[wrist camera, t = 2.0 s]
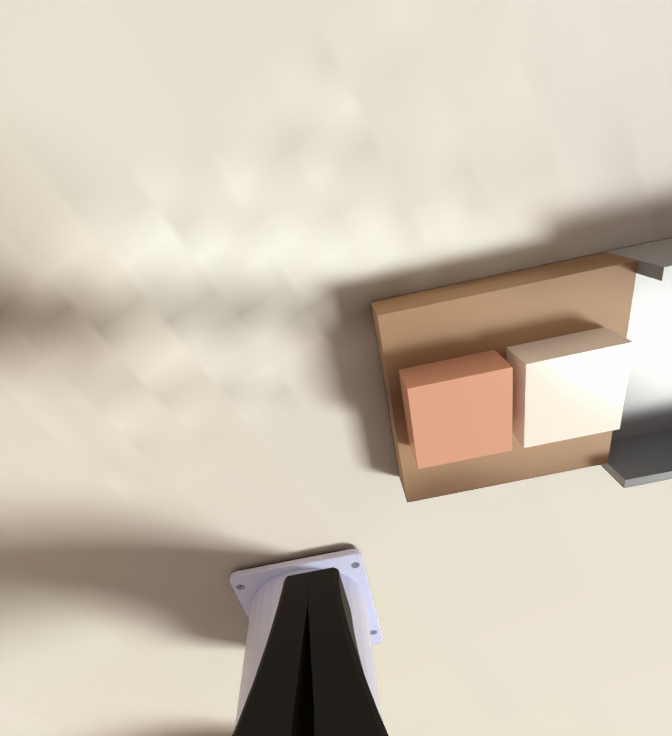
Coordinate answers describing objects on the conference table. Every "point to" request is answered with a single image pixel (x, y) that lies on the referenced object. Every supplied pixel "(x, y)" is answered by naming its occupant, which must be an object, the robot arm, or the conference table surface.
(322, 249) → the conference table surface
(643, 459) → the slate tray
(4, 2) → the conference table surface
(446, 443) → the terracotta tile
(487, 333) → the walnut board
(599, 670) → the conference table surface
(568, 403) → the cream tile
